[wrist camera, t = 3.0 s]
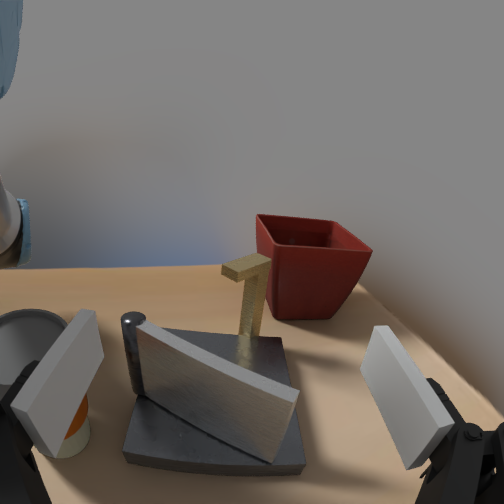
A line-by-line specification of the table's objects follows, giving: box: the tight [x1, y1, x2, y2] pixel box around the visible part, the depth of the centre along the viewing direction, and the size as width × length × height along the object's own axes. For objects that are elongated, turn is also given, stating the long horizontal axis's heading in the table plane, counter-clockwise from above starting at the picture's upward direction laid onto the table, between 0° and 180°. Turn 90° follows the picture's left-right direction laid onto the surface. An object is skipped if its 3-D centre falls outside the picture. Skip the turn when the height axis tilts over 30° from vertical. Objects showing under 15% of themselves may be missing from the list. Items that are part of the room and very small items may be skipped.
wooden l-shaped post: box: [221, 253, 272, 339], centre depth 46 cm, size 3×7×16 cm, turn 139°
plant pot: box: [256, 214, 373, 319], centre depth 63 cm, size 19×19×17 cm
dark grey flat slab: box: [122, 328, 306, 476], centre depth 38 cm, size 20×24×3 cm
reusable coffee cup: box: [0, 309, 90, 459], centre depth 25 cm, size 12×13×15 cm
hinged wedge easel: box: [121, 312, 300, 463], centre depth 29 cm, size 20×3×11 cm, turn 63°
